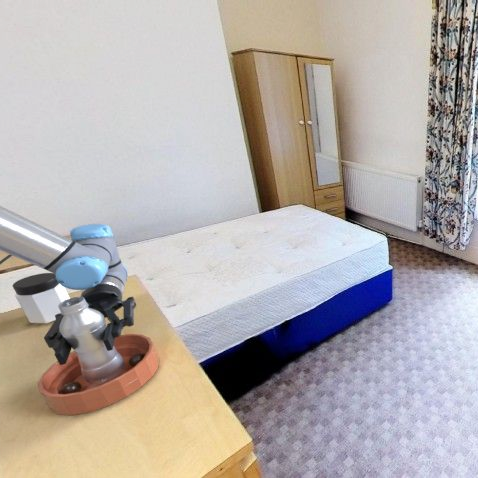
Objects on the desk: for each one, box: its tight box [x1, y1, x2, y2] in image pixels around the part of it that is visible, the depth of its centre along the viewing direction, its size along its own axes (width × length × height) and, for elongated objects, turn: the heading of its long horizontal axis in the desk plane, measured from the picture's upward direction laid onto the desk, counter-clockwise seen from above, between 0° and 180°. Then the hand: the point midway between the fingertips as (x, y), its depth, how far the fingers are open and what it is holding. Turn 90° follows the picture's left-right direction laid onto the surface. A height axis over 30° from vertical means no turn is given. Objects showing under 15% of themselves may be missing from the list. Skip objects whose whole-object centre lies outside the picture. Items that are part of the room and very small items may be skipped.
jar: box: [12, 272, 71, 324], centre depth 91 cm, size 9×8×12 cm
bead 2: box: [129, 354, 145, 367], centre depth 76 cm, size 3×3×3 cm
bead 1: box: [61, 382, 82, 394], centre depth 68 cm, size 3×3×3 cm
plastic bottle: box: [58, 296, 124, 384], centre depth 68 cm, size 6×7×20 cm
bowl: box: [37, 333, 160, 416], centre depth 72 cm, size 18×18×6 cm
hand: (84, 351), depth 64 cm, fingers closed on plastic bottle, 6 cm apart
